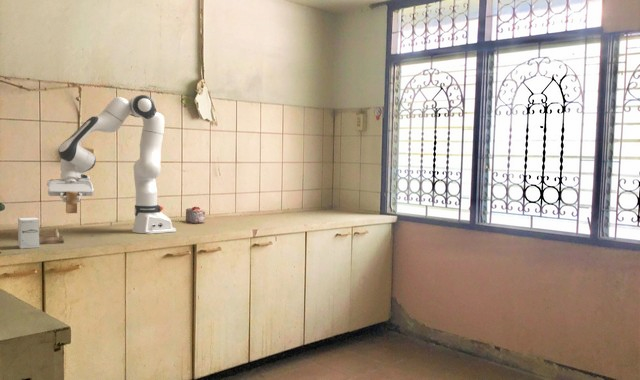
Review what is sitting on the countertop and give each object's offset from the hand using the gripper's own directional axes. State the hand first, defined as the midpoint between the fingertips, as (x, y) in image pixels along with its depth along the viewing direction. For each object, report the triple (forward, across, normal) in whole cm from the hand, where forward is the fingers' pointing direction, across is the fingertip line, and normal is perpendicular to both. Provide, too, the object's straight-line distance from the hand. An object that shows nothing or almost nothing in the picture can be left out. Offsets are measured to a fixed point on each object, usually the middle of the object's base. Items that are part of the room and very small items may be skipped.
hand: (71, 201), depth 254 cm
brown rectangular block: (+3, 0, +4) cm, 5 cm away
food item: (-14, +70, +38) cm, 81 cm away
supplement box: (+25, -18, +1) cm, 31 cm away
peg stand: (+16, -11, +9) cm, 22 cm away
